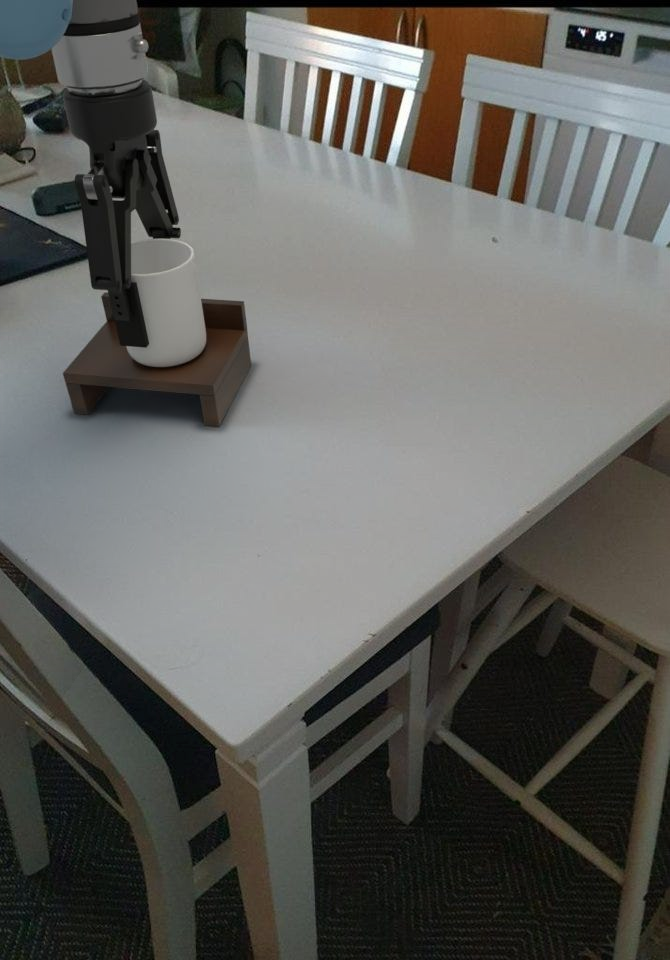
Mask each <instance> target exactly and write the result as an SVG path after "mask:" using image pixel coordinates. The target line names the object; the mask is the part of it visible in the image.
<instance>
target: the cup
mask: <svg viewBox="0 0 670 960" xmlns="http://www.w3.org/2000/svg"><path fill="white" fill-rule="evenodd" d="M131 282H135V283H137V287H138V292H139V297H140V302H141V306H142V311H143V316H144V321H145V326H146V331H147V336H148V340H149V345H148V346H147V347H146V348H144V347H131V346H126V347H127V350H128V353H129V354H130V356H131V357H132V358H133V359H134V360H135V361H137V362H138V363H140V364H143V365H146V366H151V367H169V366H175V365H179V364H183V363H186V362H188V361H190V360H192V359H194V358H195V357H197V356H198V355H199V354H200V353H201V352H202V351H203V349H204V347H205V344H206V329H205V322H204V315H203V309H202V302H201V299H202V297H201V290H200V289H201V288H200V283H199V282H200V281H199V276H198V269H197V261H196V257H195V250H194V249H193V247H192V246H191V245H190V244H188V243H186V242H184V241H183V240H182V241H181V240H179V239H178V240H177V239H174V238H171V239H153V238H149V239H142V240H137V241H132V242H131Z"/></svg>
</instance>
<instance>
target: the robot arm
mask: <svg viewBox="0 0 670 960" xmlns="http://www.w3.org/2000/svg"><path fill="white" fill-rule="evenodd" d="M140 18H141V17H140V13H139V9H138V2H137V0H0V58H1V59H8V60H15V61H22V60H30V59H35V58H37V57H39V56H43V55H44V54H46V53H47V52H49V51H50V50H51V54H52V58H53V64H54V68H55V73H56V77H57V82H58V83H59V84H61V85H62V86H63V87H66V88H64V89H63V92H62V94H61V97H62V102H63V106H64V110H65V114H66V119H67V123H68V128H69V131H70V133H71V135H72V137H74V138H76V139H78V140H80V141H81V142H84V143H85V144H86V145H87V146H88V153H89V168H90V170H89V171H88V173H86V174H85V173H76V174H75V175H74V186H75V189H76V192H77V196H78V199H79V202H80V207H81V208H80V209H81V215H82V222H83V232H84V238H85V246H86V255H87V263H88V271H89V279H90V285H91V288H92V289H93V290H96V291H97V290H99V291H107V293H108V294H109V298H110V302H111V307H112V311H113V315H114V320H115V324H116V328H117V333H118V337H119V341H120V346H131V347H144V348H146V347H147V346H148V345H149V340H148V336H147V331H146V326H145V321H144V316H143V311H142V306H141V302H140V297H139V292H138V287H137V283H135V282H131V243H132V212H134V211H135V212H136V213H137V215H138V217H139V220H140V221H141V223H142V226H143V228H144V230H145V232H146V234H147V236H148V237H149V238H152V239H180V238H181V235H182V230H181V229H182V228H181V227H176V226H178V225H179V222H180V216H179V212H178V208H177V204H176V200H175V197H174V193H173V190H172V185H171V182H170V179H169V174H168V170H167V167H166V163H165V159H164V156H163V148H162V142H161V141H162V140H161V133H160V130H159V129H156V127H157V124H158V119H157V113H156V112H157V111H156V106H155V100H154V95H153V94H154V93H153V88H152V85H151V84H150V83H149V82H148V81H147V80H145V78H146V77H147V75H148V74H149V68H148V62H147V56H146V53H147V52H148V50H149V47H150V46H149V43H148V41H147V40H146V39H144V37H143V31H142V25H141V19H140ZM115 199H116V200H115ZM117 199H123V200H117ZM174 226H175V227H174Z"/></svg>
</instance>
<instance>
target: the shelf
mask: <svg viewBox="0 0 670 960" xmlns="http://www.w3.org/2000/svg"><path fill="white" fill-rule="evenodd" d="M100 297H101V302H102V306H103V310H104V315H105V319H106V322H105V323H104V324H103V325H102V326H101V327H100V328H99V330H97V332H96V333H95V334H94V335H93V337H92V338H91V339H90V340H89V342H88V343H87V344H86V345H85V346H84V347H83V348H82V350H81V351H80V352H79V353H78V354H77V356H76V357H75V358H74V359H73V360H72V361H71V363H70V364H69V365H68V366H67V368H65V370H64V371H63V372H62V376H63V379H64V383H65V386H66V390H67V393H68V398H69V400H70V403H71V407H72V411H73V414H76V415H85V416H86V415H87V416H88V415H89V414H90V413H91V412H92V411H93V409H94V408H95V406H96V405H97V404H98V402H99V401H100V400H101V399H102V398H103V396H104V394H105V393H106V392H107V390H108V389H109V388H121V389H132V390H144V391H155V392H167V393H178V394H190V395H199V400H200V407H201V412H202V417H203V418H202V419H203V423H204V426H206V427H218V428H220V426H221V425H222V423H223V420H224V418H225V417H226V415H227V414H228V411H229V409H230V407H231V405H232V404H233V401H234V400H235V398H236V395H237V394H238V392H239V390H240V388H241V387H242V384H243V382H244V380H245V379H246V377H247V375H248V372H249V371H250V369H251V367H252V360H251V358H252V357H251V350H250V342H249V332H248V323H247V316H246V315H247V314H246V306H245V301H244V300H230V299H216V298H201V302H202V309H203V315H204V322H205V329H206V344H205V347H204V349H203V351H202V352H201V353H200V354H199V355H198V356H197V357H195V358H194V359H192V360H190V361H188V362H186V363H183V364H179V365H175V366H169V367H151V366H146V365H143V364H140V363H138V362H137V361H135V360H134V359H133V358H132V357H131V356H130V354H129V353H128V350H127V347H126V346H120V341H119V337H118V333H117V328H116V324H115V320H114V315H113V311H112V307H111V302H110V298H109V294H108V292H104V293H102V295H100Z"/></svg>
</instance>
